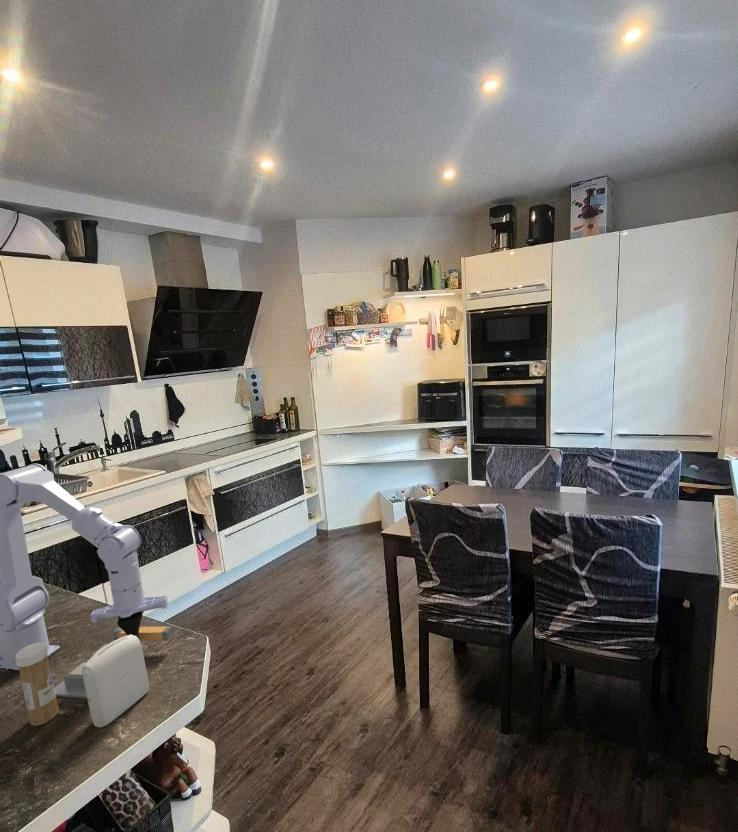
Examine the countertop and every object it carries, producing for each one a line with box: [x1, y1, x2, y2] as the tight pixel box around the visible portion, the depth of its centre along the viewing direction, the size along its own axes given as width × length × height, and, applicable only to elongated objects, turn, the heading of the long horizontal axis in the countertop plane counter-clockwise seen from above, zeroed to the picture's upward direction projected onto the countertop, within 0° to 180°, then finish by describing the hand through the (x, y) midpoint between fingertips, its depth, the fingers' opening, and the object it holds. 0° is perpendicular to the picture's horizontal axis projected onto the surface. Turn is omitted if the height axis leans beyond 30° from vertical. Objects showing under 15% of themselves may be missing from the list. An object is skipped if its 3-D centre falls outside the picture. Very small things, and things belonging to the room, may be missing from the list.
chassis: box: [54, 642, 145, 699], centre depth 96 cm, size 10×16×3 cm, turn 168°
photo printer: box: [82, 635, 150, 728], centre depth 83 cm, size 10×4×12 cm, turn 154°
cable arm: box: [112, 625, 175, 642], centre depth 101 cm, size 13×2×2 cm, turn 83°
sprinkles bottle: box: [15, 643, 60, 727], centre depth 83 cm, size 5×5×13 cm
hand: (136, 644), depth 98 cm, fingers closed, pressing on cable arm
